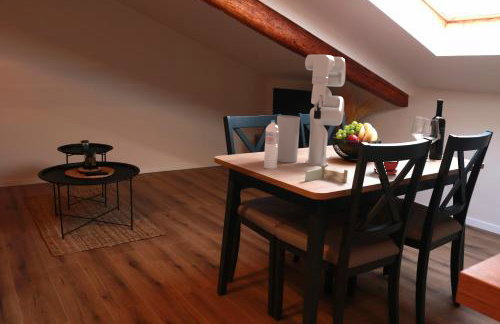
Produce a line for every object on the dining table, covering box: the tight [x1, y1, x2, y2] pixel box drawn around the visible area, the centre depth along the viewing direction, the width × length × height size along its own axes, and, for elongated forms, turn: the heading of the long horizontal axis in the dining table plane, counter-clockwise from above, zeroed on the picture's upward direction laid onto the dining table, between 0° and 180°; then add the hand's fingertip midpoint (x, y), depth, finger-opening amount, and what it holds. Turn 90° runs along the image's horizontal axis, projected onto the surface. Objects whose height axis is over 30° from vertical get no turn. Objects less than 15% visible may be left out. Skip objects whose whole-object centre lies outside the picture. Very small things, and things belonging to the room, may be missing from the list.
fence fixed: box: [320, 165, 349, 184], centre depth 194 cm, size 14×2×6 cm, turn 47°
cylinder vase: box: [276, 115, 301, 164], centre depth 235 cm, size 12×12×25 cm
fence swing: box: [304, 168, 323, 182], centre depth 193 cm, size 11×2×4 cm, turn 134°
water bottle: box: [263, 119, 279, 170], centre depth 213 cm, size 7×7×25 cm
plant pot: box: [373, 160, 400, 176], centre depth 217 cm, size 13×13×12 cm
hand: (317, 118), depth 206 cm, fingers closed
